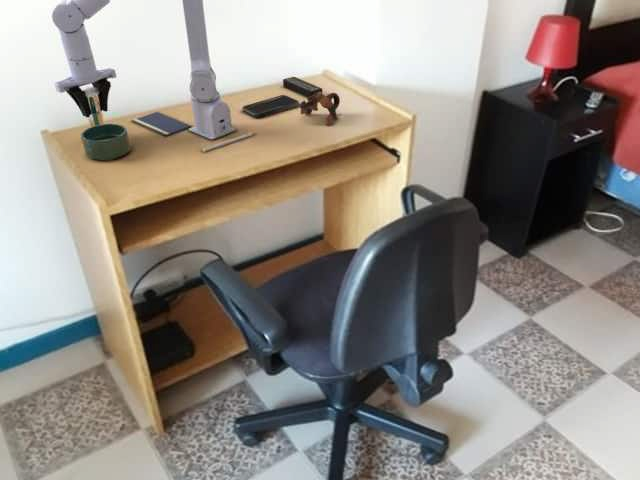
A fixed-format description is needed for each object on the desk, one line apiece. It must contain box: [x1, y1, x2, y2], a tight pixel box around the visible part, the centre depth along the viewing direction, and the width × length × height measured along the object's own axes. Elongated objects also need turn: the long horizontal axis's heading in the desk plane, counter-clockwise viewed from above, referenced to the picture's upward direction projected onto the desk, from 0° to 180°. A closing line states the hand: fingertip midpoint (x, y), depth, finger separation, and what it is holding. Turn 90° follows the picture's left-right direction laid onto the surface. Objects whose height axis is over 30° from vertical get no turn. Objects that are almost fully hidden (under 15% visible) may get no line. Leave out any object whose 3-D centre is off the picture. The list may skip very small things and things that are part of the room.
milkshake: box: [81, 86, 105, 127], centre depth 142 cm, size 4×5×10 cm
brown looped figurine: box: [298, 91, 341, 126], centre depth 158 cm, size 12×10×8 cm
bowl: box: [80, 123, 132, 161], centre depth 139 cm, size 10×10×5 cm
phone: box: [242, 94, 300, 119], centre depth 164 cm, size 8×1×15 cm
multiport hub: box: [282, 76, 323, 99], centre depth 175 cm, size 4×14×2 cm, turn 42°
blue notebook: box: [131, 111, 192, 137], centre depth 155 cm, size 15×8×1 cm, turn 51°
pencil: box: [202, 132, 254, 153], centre depth 146 cm, size 1×1×15 cm
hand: (95, 113), depth 144 cm, fingers closed on milkshake, 4 cm apart
